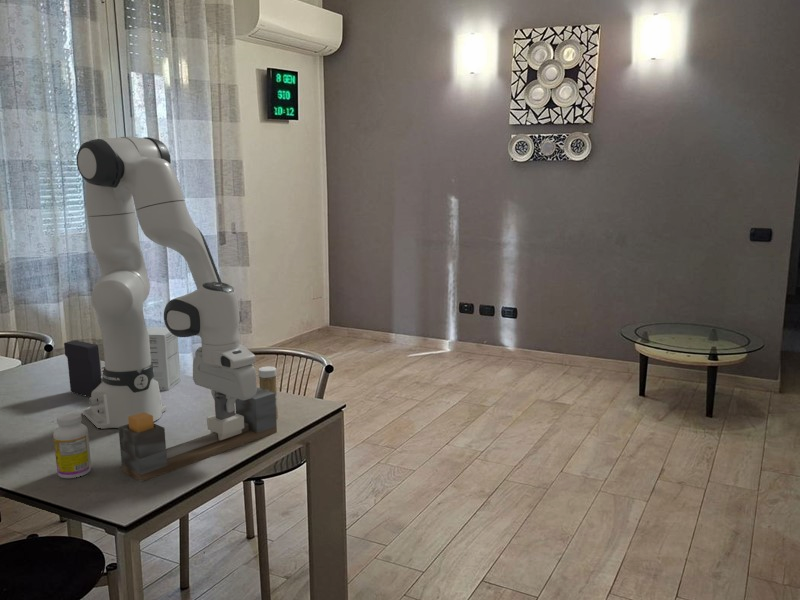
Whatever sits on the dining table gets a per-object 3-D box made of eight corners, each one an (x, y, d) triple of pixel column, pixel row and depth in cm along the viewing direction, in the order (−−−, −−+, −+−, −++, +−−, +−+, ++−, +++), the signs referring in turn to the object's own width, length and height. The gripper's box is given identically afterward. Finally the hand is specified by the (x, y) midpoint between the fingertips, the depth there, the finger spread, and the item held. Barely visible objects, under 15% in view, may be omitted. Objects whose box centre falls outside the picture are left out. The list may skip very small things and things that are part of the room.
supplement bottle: (64, 466, 154) (58, 410, 152) (95, 465, 155) (90, 409, 153) (52, 480, 148) (46, 422, 145) (85, 479, 148) (79, 421, 146)
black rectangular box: (105, 395, 202) (100, 344, 200) (91, 399, 199) (87, 347, 196) (82, 388, 208) (77, 339, 205) (68, 392, 205) (63, 342, 202)
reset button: (130, 439, 150) (128, 416, 149) (145, 434, 153) (143, 412, 152) (138, 443, 148) (137, 420, 147) (154, 438, 151) (152, 415, 150)
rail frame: (122, 471, 152) (118, 427, 150) (256, 424, 179) (254, 386, 177) (141, 481, 147) (138, 436, 145) (276, 431, 174) (275, 393, 172)
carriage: (208, 435, 167) (205, 393, 165) (229, 428, 171) (227, 387, 169) (223, 441, 163) (221, 398, 161) (244, 434, 168) (242, 392, 166)
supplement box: (152, 380, 216) (148, 326, 213) (181, 380, 215) (178, 327, 212) (138, 389, 207) (133, 333, 204) (168, 390, 206) (164, 334, 203)
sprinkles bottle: (281, 419, 183) (279, 368, 180) (264, 422, 180) (262, 371, 178) (273, 413, 186) (271, 364, 184) (257, 417, 184) (255, 367, 181)
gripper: (184, 348, 168) (187, 403, 170) (237, 363, 155) (240, 423, 157) (206, 342, 172) (210, 397, 175) (260, 357, 159) (263, 415, 162)
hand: (224, 409), depth 166 cm, fingers closed on carriage, 2 cm apart
